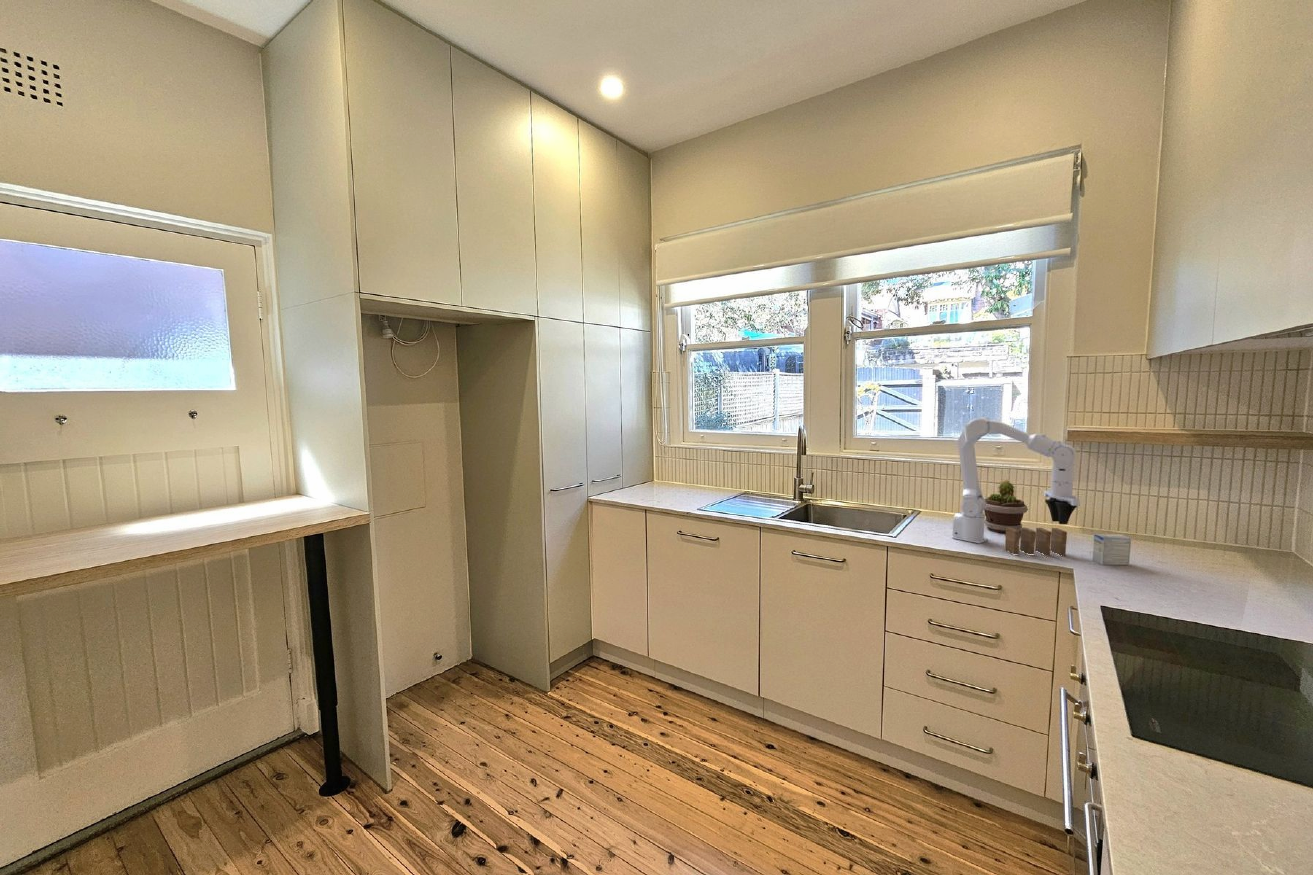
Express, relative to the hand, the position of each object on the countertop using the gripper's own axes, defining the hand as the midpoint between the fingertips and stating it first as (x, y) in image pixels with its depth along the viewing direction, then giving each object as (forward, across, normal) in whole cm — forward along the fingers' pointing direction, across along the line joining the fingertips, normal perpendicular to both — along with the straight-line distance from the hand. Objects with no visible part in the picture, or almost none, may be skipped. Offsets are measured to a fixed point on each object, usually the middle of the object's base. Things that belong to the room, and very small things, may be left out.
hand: (1059, 522), depth 175 cm
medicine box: (+11, -9, -10) cm, 17 cm away
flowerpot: (+11, +29, +2) cm, 31 cm away
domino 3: (+10, 0, +5) cm, 11 cm away
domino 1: (+10, 0, +14) cm, 18 cm away
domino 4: (+10, 0, 0) cm, 10 cm away
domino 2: (+10, 0, +10) cm, 14 cm away
